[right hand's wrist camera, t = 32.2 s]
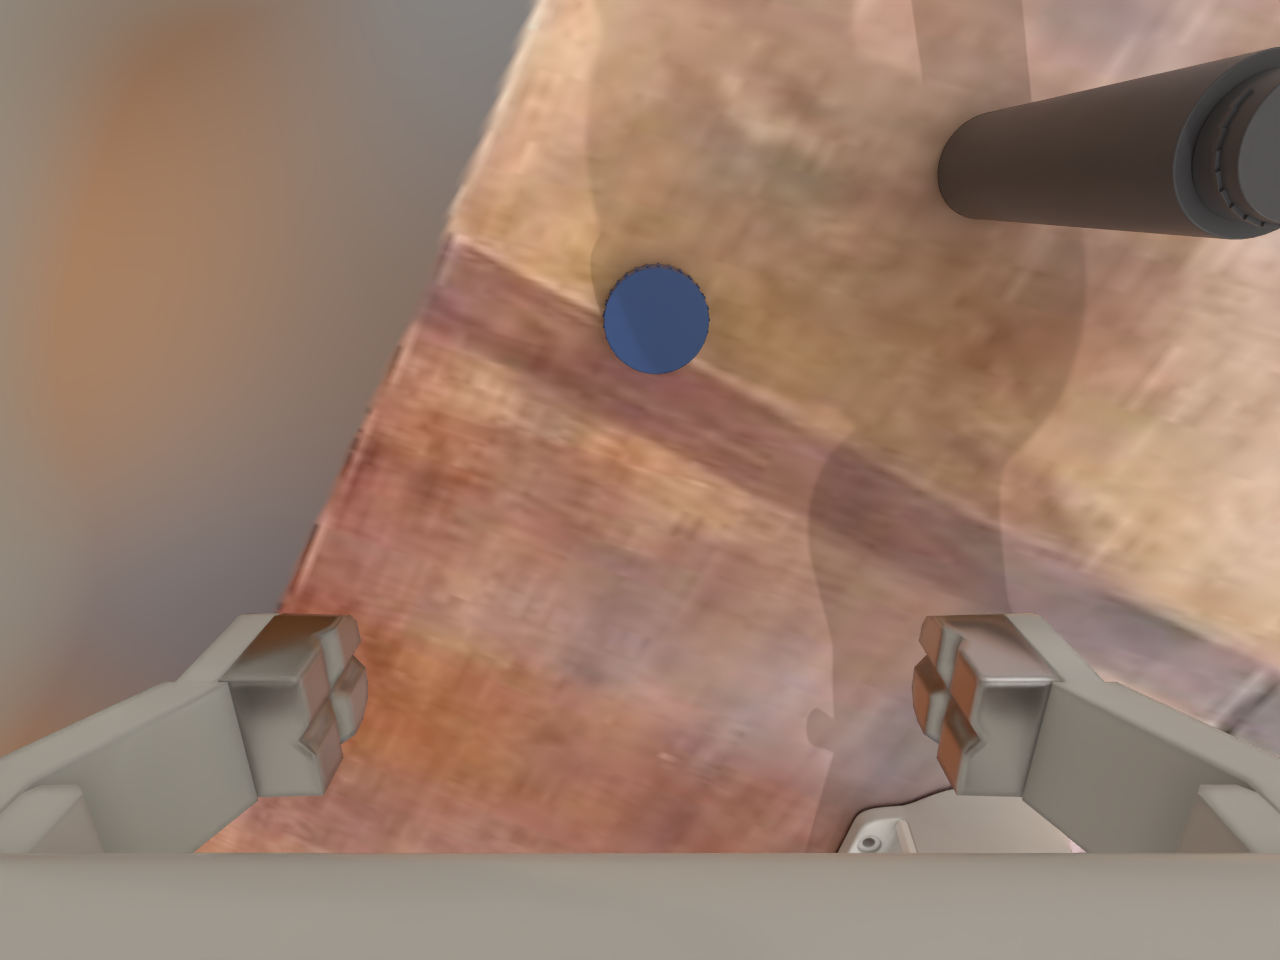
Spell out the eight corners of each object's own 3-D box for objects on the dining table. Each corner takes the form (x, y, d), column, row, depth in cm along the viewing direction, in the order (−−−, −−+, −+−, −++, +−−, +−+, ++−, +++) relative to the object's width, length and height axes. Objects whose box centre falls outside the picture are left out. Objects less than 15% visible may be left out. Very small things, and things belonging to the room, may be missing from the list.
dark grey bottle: (954, 236, 36) (1235, 276, 19) (924, 142, 35) (1202, 94, 18) (1048, 190, 36) (1429, 189, 18) (1022, 92, 34) (1411, -9, 17)
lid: (633, 243, 36) (632, 245, 35) (726, 293, 37) (730, 298, 36) (586, 338, 38) (584, 345, 36) (676, 384, 39) (678, 393, 37)
